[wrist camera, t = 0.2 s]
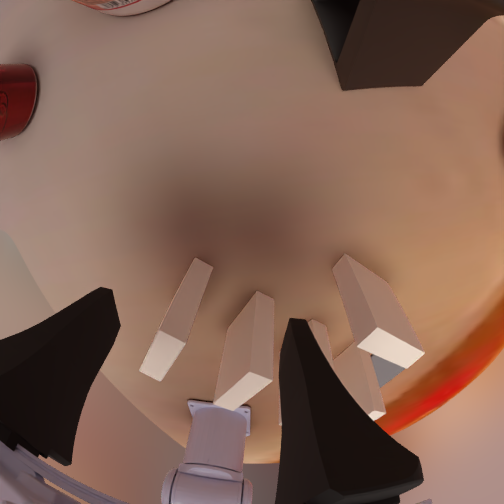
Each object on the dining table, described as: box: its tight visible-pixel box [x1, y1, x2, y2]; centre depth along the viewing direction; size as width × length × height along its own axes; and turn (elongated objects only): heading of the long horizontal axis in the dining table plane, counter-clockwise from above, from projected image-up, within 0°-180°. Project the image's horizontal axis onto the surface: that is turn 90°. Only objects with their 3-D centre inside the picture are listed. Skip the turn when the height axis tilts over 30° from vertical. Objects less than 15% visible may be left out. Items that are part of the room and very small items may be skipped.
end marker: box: [370, 354, 405, 388], centre depth 25 cm, size 6×6×1 cm
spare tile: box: [332, 254, 425, 369], centre depth 17 cm, size 2×5×8 cm, turn 59°
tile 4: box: [333, 341, 386, 421], centre depth 21 cm, size 2×5×8 cm, turn 149°
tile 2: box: [213, 291, 274, 411], centre depth 19 cm, size 2×5×8 cm, turn 149°
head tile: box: [139, 257, 213, 382], centre depth 18 cm, size 2×5×8 cm, turn 149°
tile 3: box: [279, 319, 335, 425], centre depth 20 cm, size 2×5×8 cm, turn 150°
